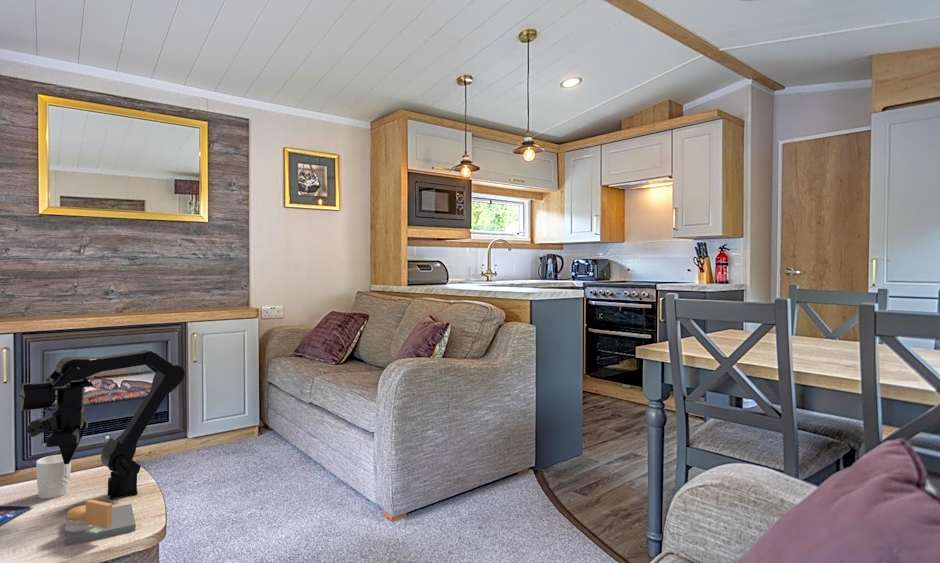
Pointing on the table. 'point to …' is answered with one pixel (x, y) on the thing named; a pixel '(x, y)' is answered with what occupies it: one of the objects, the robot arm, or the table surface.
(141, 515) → the table surface
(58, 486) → the white cup
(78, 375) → the robot arm
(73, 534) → the base
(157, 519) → the table surface
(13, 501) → the table surface
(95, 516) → the lever cap
